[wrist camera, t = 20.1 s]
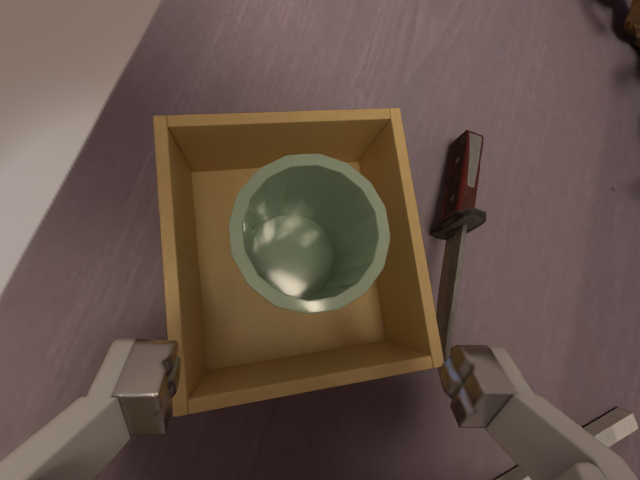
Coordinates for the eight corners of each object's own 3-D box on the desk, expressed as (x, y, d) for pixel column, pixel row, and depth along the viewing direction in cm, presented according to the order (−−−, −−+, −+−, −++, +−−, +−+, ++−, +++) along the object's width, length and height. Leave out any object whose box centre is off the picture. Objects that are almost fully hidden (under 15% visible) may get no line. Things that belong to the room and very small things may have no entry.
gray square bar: (638, 428, 24) (623, 422, 25) (632, 413, 24) (617, 407, 25) (491, 519, 21) (480, 508, 22) (485, 502, 21) (474, 492, 22)
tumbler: (246, 313, 21) (238, 324, 12) (236, 213, 22) (222, 158, 13) (344, 299, 22) (401, 300, 13) (331, 205, 23) (376, 149, 14)
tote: (199, 380, 21) (172, 417, 14) (182, 167, 22) (152, 115, 16) (392, 347, 23) (445, 366, 16) (363, 157, 25) (400, 107, 18)
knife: (416, 378, 23) (458, 399, 18) (397, 372, 23) (435, 393, 18) (465, 147, 26) (512, 113, 21) (449, 141, 26) (492, 106, 21)
